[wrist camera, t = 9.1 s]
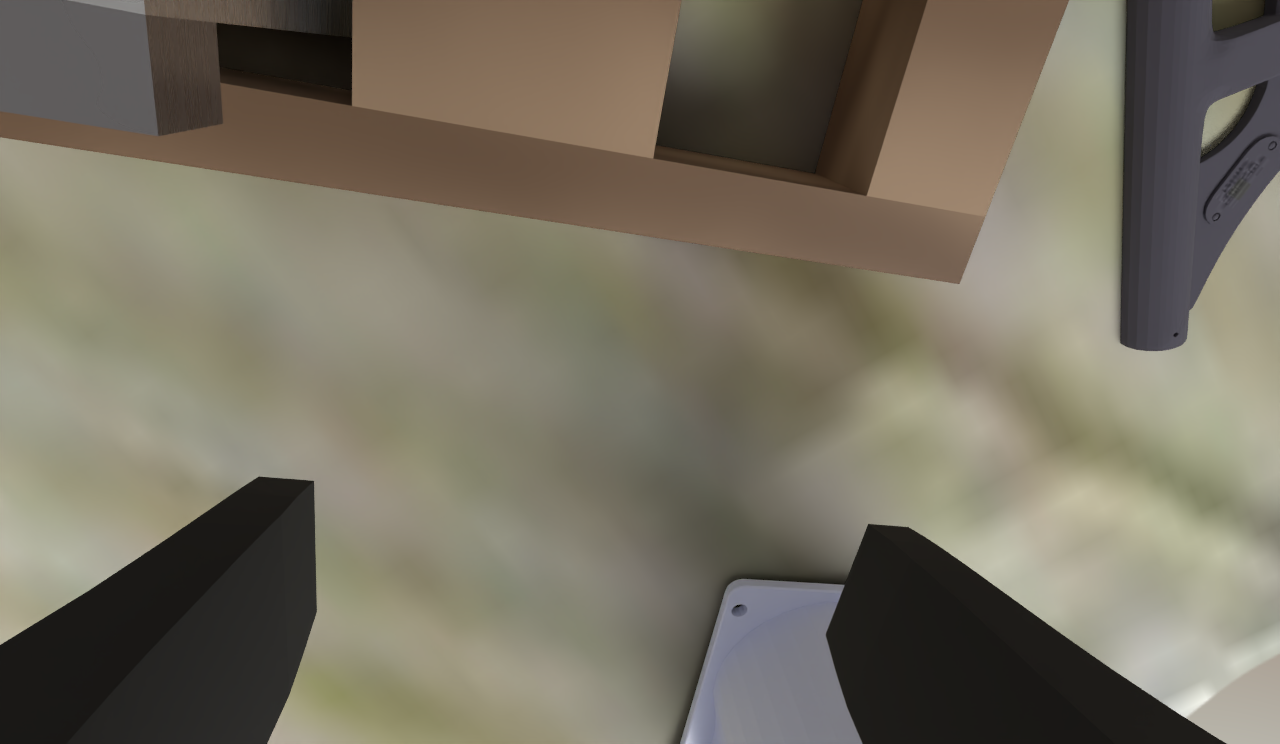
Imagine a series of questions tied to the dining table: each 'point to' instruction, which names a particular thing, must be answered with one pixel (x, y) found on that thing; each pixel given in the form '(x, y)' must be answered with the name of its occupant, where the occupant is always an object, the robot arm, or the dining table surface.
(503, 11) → the brown holed block
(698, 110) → the dining table surface
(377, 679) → the dining table surface
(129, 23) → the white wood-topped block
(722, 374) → the dining table surface
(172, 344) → the dining table surface
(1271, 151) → the bracket
